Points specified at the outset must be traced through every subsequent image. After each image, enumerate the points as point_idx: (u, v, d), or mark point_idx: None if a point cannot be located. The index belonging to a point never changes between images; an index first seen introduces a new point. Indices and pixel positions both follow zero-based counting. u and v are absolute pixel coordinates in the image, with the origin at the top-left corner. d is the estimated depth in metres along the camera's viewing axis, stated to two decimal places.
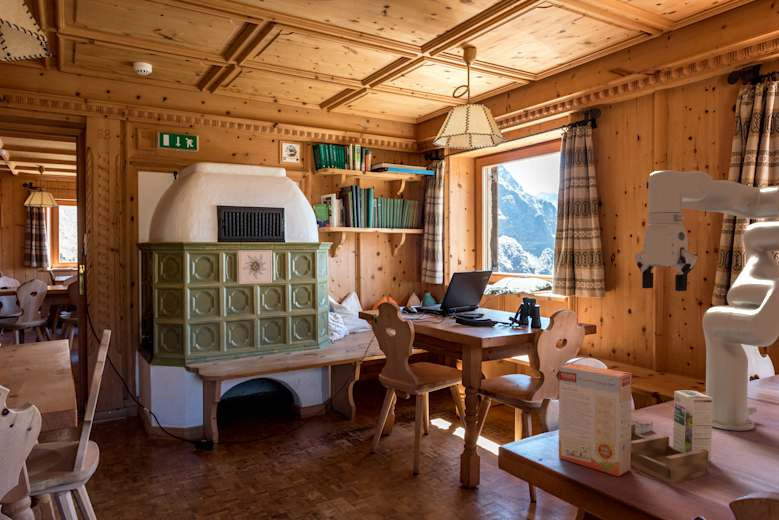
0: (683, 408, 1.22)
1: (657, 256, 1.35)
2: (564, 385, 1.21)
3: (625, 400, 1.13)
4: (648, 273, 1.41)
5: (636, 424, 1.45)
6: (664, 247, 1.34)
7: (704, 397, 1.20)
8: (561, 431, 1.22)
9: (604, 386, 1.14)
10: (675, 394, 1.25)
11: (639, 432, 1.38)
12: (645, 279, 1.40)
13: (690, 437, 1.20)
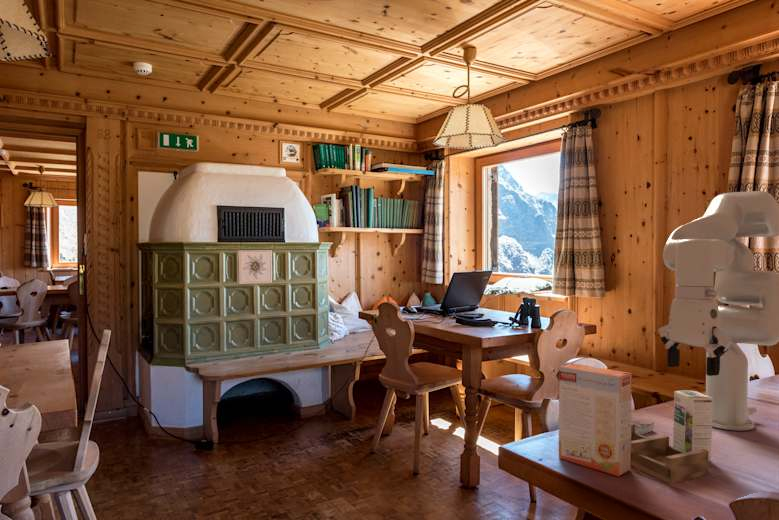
0: (683, 408, 1.22)
1: (686, 334, 1.21)
2: (564, 385, 1.21)
3: (625, 400, 1.13)
4: (674, 350, 1.26)
5: (637, 424, 1.44)
6: (694, 325, 1.19)
7: (704, 397, 1.20)
8: (561, 431, 1.22)
9: (604, 386, 1.14)
10: (675, 394, 1.25)
11: (641, 432, 1.38)
12: (671, 357, 1.26)
13: (690, 437, 1.20)
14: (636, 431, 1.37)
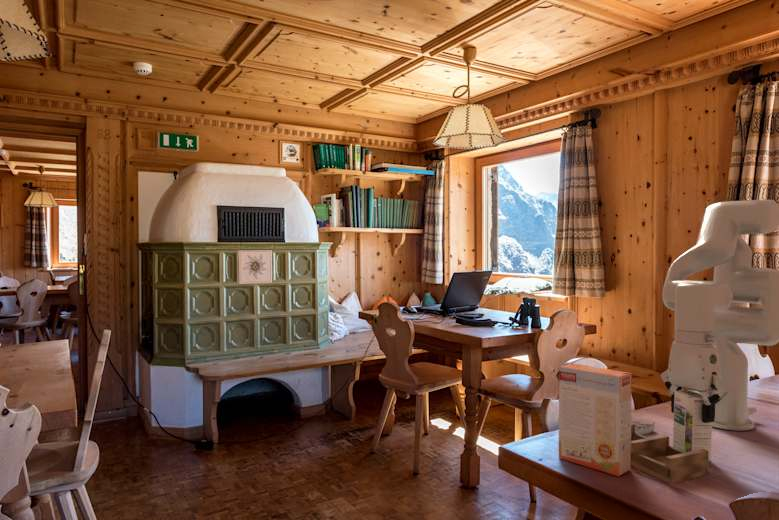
0: (683, 408, 1.21)
1: (685, 378, 1.22)
2: (564, 385, 1.21)
3: (625, 400, 1.13)
4: None
5: (637, 424, 1.44)
6: (693, 370, 1.20)
7: None
8: (561, 431, 1.22)
9: (604, 386, 1.14)
10: (675, 394, 1.25)
11: (642, 433, 1.38)
12: None
13: (690, 437, 1.20)
14: (637, 431, 1.37)
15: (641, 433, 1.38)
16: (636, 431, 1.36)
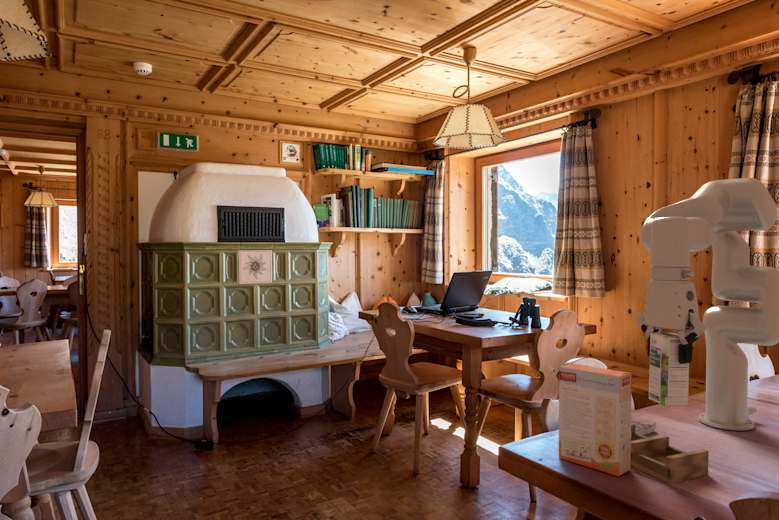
0: (659, 350, 1.14)
1: (661, 317, 1.15)
2: (564, 385, 1.21)
3: (625, 400, 1.13)
4: None
5: (638, 425, 1.44)
6: (669, 308, 1.13)
7: None
8: (561, 431, 1.22)
9: (604, 386, 1.14)
10: (651, 336, 1.18)
11: (643, 433, 1.37)
12: None
13: (666, 380, 1.13)
14: (639, 432, 1.36)
15: (643, 434, 1.37)
16: (638, 432, 1.36)
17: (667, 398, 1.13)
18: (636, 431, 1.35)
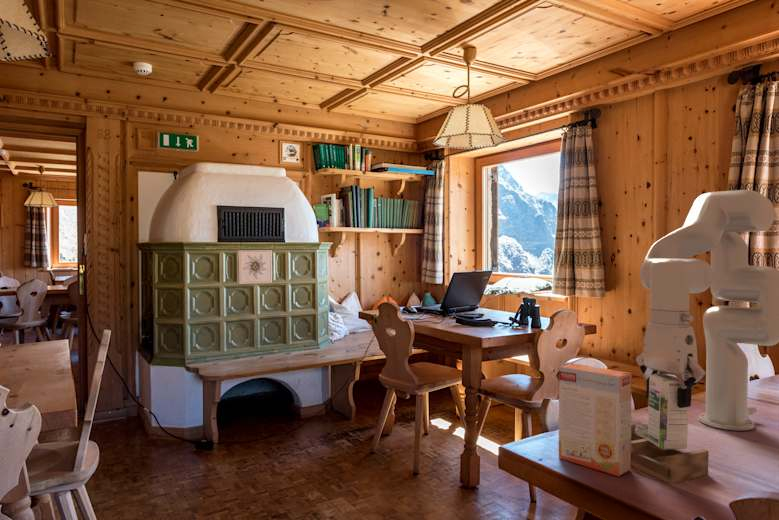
0: (658, 392, 1.15)
1: (660, 360, 1.15)
2: (564, 385, 1.21)
3: (625, 400, 1.13)
4: None
5: (639, 425, 1.44)
6: (668, 351, 1.13)
7: None
8: (561, 431, 1.22)
9: (604, 386, 1.14)
10: (650, 378, 1.18)
11: (644, 433, 1.37)
12: None
13: (665, 423, 1.13)
14: (640, 432, 1.36)
15: (644, 434, 1.37)
16: (639, 432, 1.36)
17: (666, 441, 1.13)
18: (637, 431, 1.35)
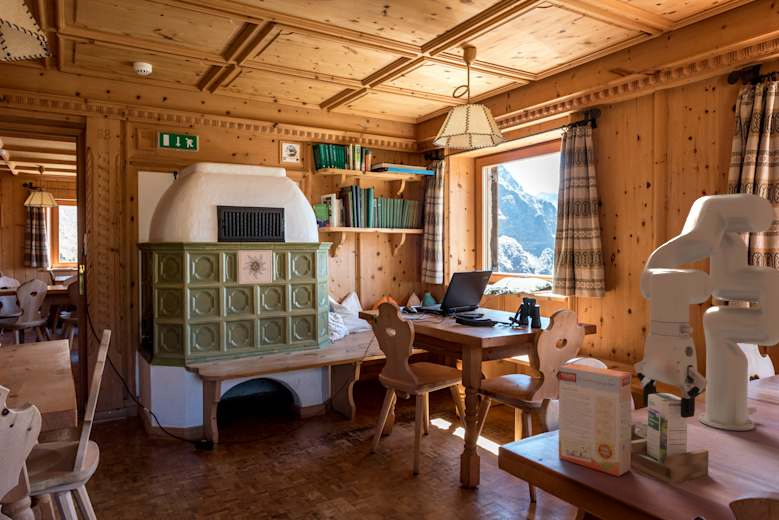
0: (657, 412, 1.15)
1: (660, 371, 1.15)
2: (564, 385, 1.21)
3: (625, 400, 1.13)
4: (650, 388, 1.20)
5: (639, 425, 1.44)
6: (668, 363, 1.13)
7: (679, 400, 1.14)
8: (561, 431, 1.22)
9: (604, 386, 1.14)
10: (649, 397, 1.18)
11: (645, 433, 1.37)
12: (647, 395, 1.19)
13: (665, 443, 1.13)
14: (641, 432, 1.36)
15: (645, 434, 1.37)
16: (640, 432, 1.35)
17: None
18: (638, 432, 1.35)
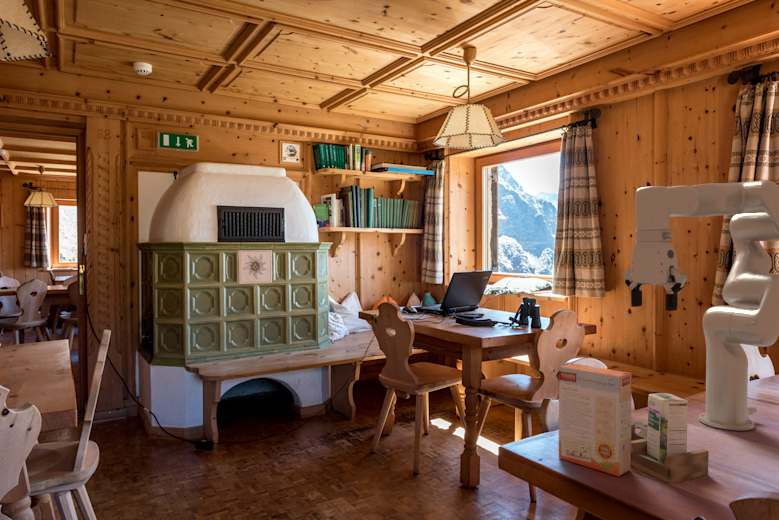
0: (657, 412, 1.15)
1: (646, 274, 1.31)
2: (564, 385, 1.21)
3: (625, 400, 1.13)
4: (637, 291, 1.37)
5: (640, 425, 1.43)
6: (653, 265, 1.30)
7: (679, 400, 1.14)
8: (561, 431, 1.22)
9: (604, 386, 1.14)
10: (649, 397, 1.18)
11: None
12: (634, 297, 1.36)
13: (665, 443, 1.13)
14: (644, 433, 1.35)
15: None
16: (643, 433, 1.35)
17: None
18: (641, 432, 1.35)
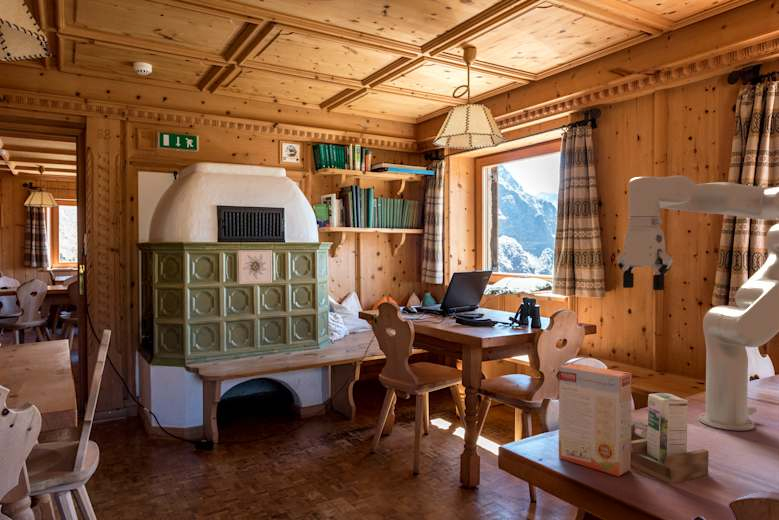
0: (657, 412, 1.15)
1: (637, 257, 1.44)
2: (564, 385, 1.21)
3: (625, 400, 1.13)
4: (629, 273, 1.49)
5: (641, 426, 1.43)
6: (643, 249, 1.42)
7: (679, 400, 1.14)
8: (561, 431, 1.22)
9: (604, 386, 1.14)
10: (649, 397, 1.18)
11: None
12: (626, 279, 1.48)
13: (665, 443, 1.13)
14: (645, 433, 1.35)
15: None
16: (644, 433, 1.35)
17: None
18: (643, 432, 1.34)
